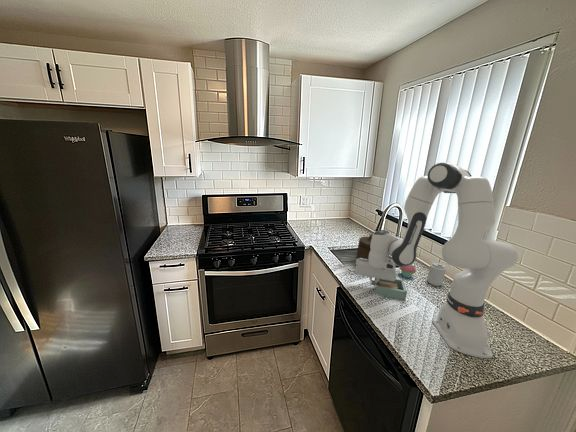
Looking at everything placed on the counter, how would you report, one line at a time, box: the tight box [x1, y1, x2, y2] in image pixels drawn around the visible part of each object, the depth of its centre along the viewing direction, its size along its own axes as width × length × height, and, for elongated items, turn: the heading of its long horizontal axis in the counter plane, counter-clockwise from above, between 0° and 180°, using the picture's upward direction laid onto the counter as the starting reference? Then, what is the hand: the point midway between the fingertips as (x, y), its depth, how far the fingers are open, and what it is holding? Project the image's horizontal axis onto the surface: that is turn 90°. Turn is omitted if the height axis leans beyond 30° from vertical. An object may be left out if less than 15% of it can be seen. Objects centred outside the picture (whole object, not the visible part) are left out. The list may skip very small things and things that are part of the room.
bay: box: [373, 278, 408, 301], centre depth 124 cm, size 12×14×4 cm
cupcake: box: [399, 263, 417, 279], centre depth 139 cm, size 9×8×12 cm
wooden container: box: [355, 233, 374, 267], centre depth 145 cm, size 15×15×22 cm
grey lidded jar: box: [426, 261, 447, 287], centre depth 132 cm, size 8×8×12 cm
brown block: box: [375, 279, 399, 290], centre depth 124 cm, size 7×10×5 cm, turn 72°
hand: (373, 284), depth 126 cm, fingers closed
